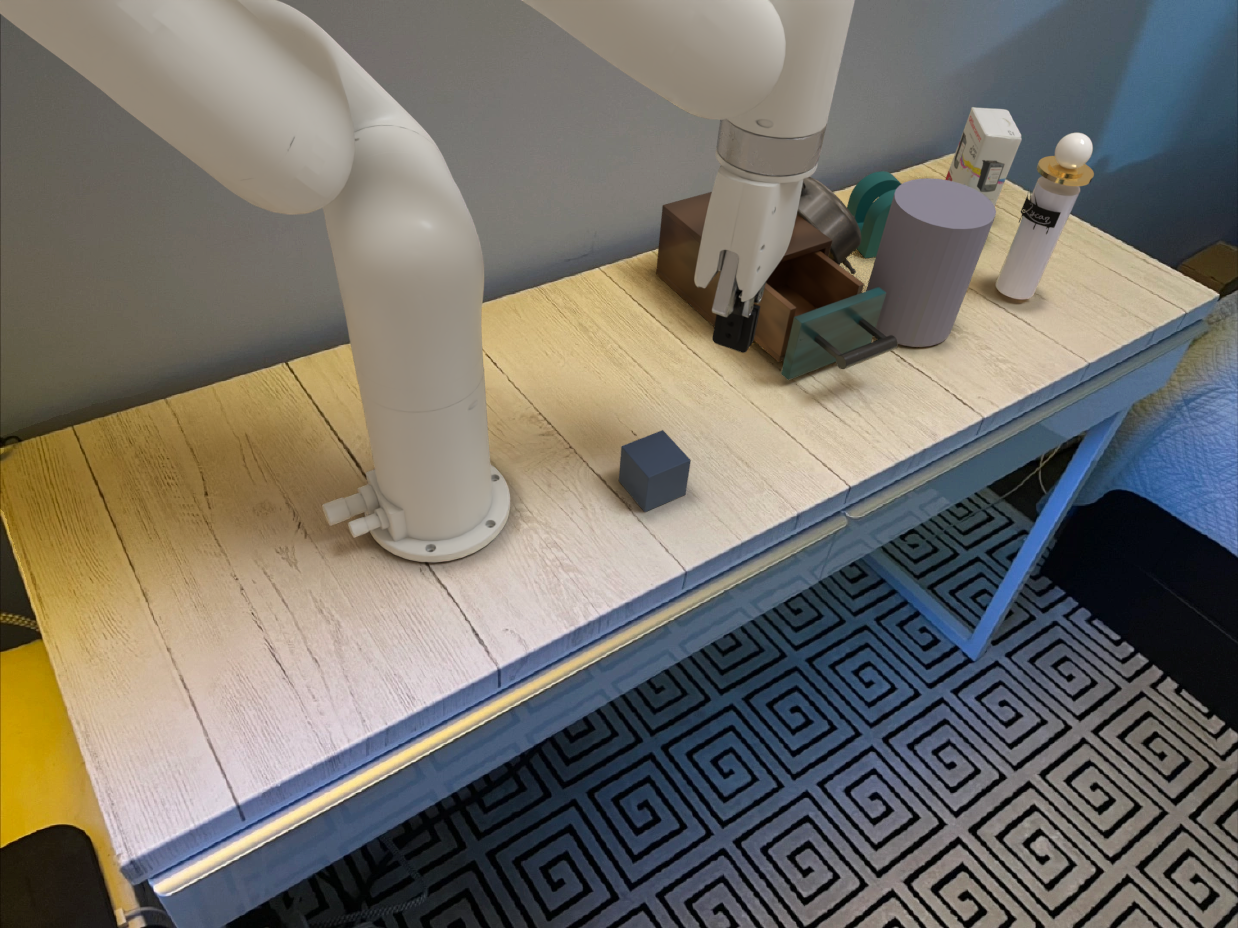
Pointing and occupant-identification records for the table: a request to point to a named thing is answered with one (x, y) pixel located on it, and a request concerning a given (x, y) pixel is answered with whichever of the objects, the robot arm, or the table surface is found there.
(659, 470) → the block
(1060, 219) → the perfume bottle
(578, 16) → the robot arm
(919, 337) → the container
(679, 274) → the cabinet
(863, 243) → the bracket
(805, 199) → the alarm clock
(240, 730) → the table surface
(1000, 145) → the ink box
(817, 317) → the drawer
